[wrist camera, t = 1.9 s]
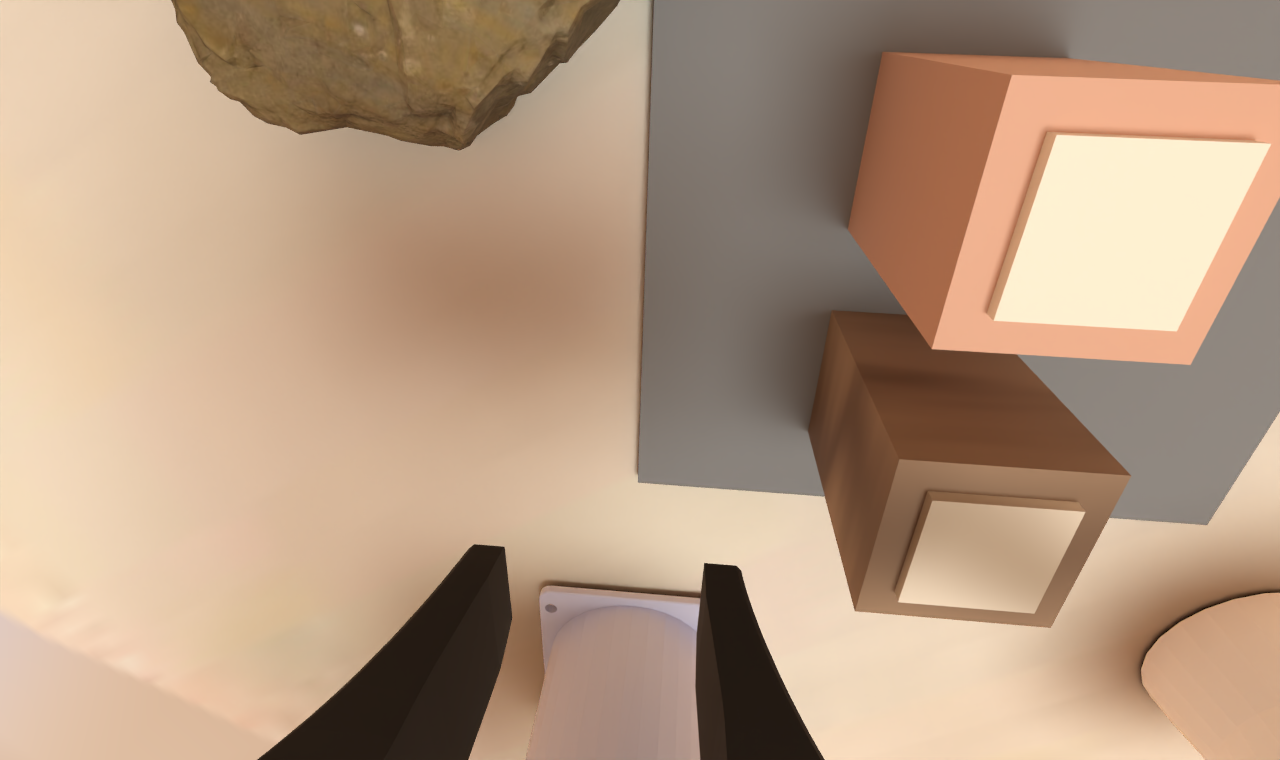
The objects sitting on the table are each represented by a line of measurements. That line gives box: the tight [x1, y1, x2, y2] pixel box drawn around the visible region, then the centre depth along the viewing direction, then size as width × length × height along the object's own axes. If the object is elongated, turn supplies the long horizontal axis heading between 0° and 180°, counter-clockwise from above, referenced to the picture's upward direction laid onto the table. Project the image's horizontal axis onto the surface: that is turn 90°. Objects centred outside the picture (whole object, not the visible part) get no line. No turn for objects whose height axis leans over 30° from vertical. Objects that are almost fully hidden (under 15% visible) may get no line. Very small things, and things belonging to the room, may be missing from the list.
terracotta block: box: [848, 52, 1280, 365], centre depth 13 cm, size 4×4×8 cm
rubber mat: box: [638, 0, 1280, 525], centre depth 19 cm, size 16×20×1 cm
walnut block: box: [808, 310, 1131, 628], centre depth 17 cm, size 4×4×8 cm
